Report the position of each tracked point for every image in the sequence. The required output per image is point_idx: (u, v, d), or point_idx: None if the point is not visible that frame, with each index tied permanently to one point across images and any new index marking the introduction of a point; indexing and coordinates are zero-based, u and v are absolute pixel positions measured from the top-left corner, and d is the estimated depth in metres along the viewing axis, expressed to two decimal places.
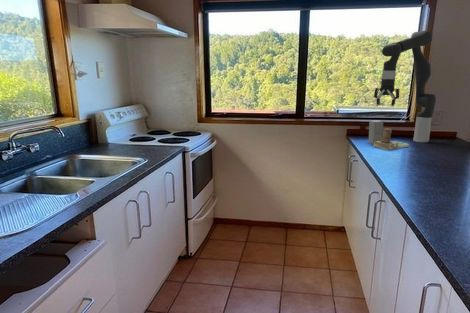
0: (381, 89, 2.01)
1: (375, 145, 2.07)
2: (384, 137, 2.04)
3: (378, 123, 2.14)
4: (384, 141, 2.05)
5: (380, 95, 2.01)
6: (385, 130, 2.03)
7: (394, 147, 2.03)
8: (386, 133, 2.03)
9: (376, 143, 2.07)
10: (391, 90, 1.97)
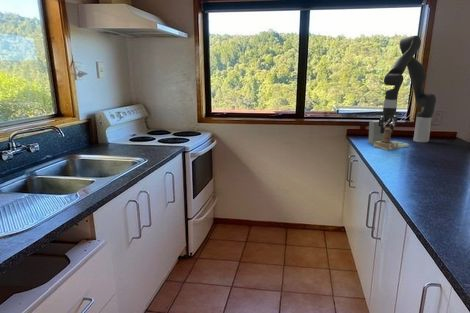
0: (386, 118, 2.00)
1: (375, 145, 2.07)
2: (384, 137, 2.04)
3: (378, 123, 2.14)
4: (384, 141, 2.05)
5: None
6: (385, 130, 2.03)
7: (394, 147, 2.03)
8: (386, 133, 2.03)
9: (376, 143, 2.07)
10: (393, 118, 2.03)
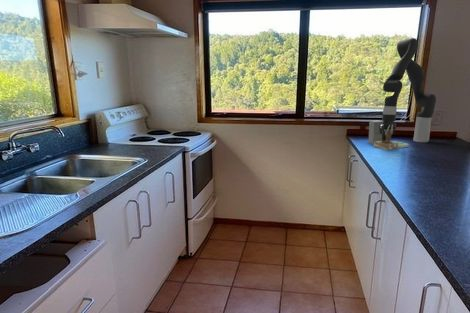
0: (386, 125, 2.01)
1: (375, 145, 2.07)
2: None
3: (378, 123, 2.14)
4: (384, 141, 2.05)
5: (387, 131, 2.02)
6: None
7: (394, 147, 2.03)
8: (386, 133, 2.03)
9: (376, 143, 2.07)
10: None
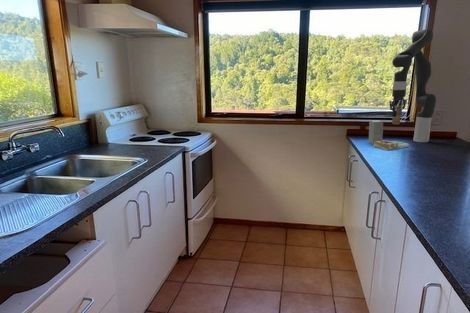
0: (396, 101, 2.00)
1: (375, 145, 2.07)
2: None
3: (378, 123, 2.14)
4: (394, 117, 2.04)
5: None
6: None
7: (394, 147, 2.03)
8: None
9: (376, 143, 2.07)
10: (402, 100, 2.03)
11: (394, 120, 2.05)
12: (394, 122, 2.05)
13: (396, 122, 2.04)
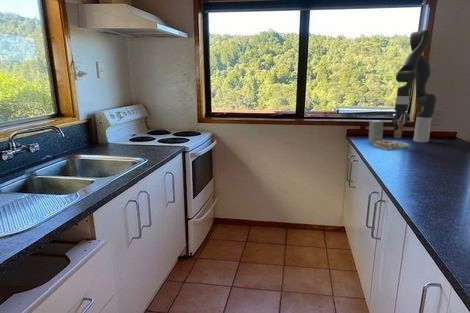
0: (398, 115, 2.05)
1: (375, 145, 2.07)
2: None
3: (378, 123, 2.14)
4: (396, 131, 2.08)
5: None
6: None
7: (394, 147, 2.03)
8: None
9: (376, 143, 2.07)
10: None
11: (396, 133, 2.09)
12: (396, 135, 2.09)
13: (398, 135, 2.08)
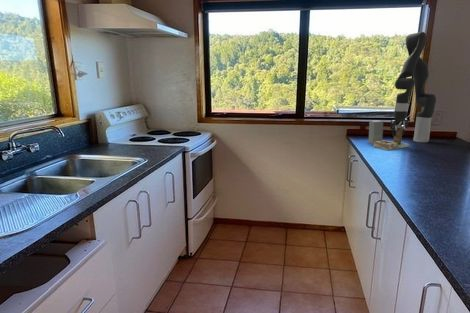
0: (398, 121, 2.06)
1: (375, 145, 2.07)
2: None
3: (378, 123, 2.14)
4: (395, 139, 2.10)
5: None
6: None
7: (394, 147, 2.03)
8: (397, 132, 2.08)
9: (376, 143, 2.07)
10: (404, 121, 2.09)
11: None
12: None
13: None
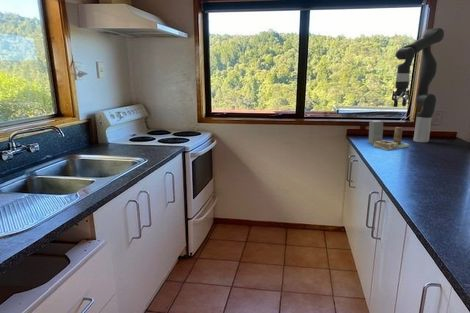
0: (399, 91, 2.05)
1: (375, 145, 2.07)
2: (395, 135, 2.09)
3: (378, 123, 2.14)
4: (395, 139, 2.10)
5: None
6: (396, 128, 2.08)
7: (394, 147, 2.03)
8: (397, 131, 2.08)
9: (376, 143, 2.07)
10: (405, 92, 2.08)
11: None
12: None
13: None
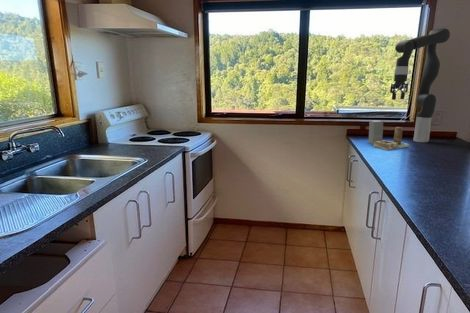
0: (398, 84, 2.07)
1: (375, 145, 2.07)
2: (395, 135, 2.09)
3: (378, 123, 2.14)
4: (395, 139, 2.10)
5: (398, 90, 2.08)
6: (397, 129, 2.08)
7: (394, 147, 2.03)
8: (398, 132, 2.08)
9: (376, 143, 2.07)
10: (404, 85, 2.10)
11: None
12: None
13: None
